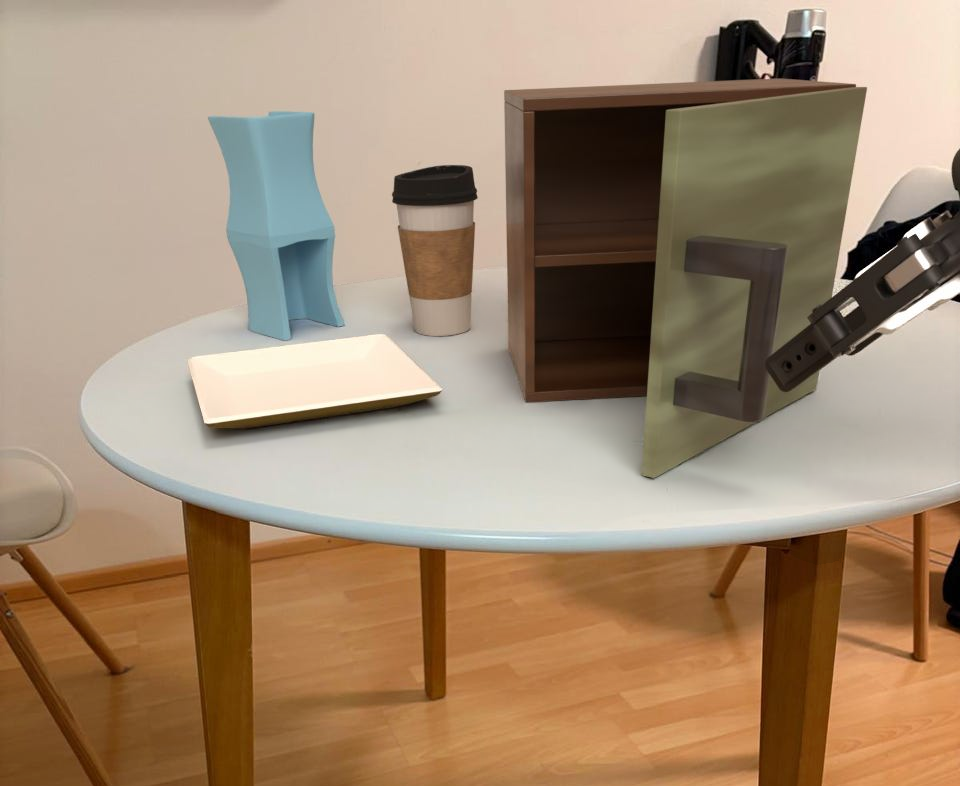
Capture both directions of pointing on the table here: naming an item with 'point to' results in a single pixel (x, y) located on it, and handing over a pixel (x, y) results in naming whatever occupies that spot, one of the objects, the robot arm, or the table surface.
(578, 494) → the table surface
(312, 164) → the vase
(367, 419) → the table surface
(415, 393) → the plate
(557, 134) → the cupboard
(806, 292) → the door
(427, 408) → the table surface
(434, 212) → the coffee cup
